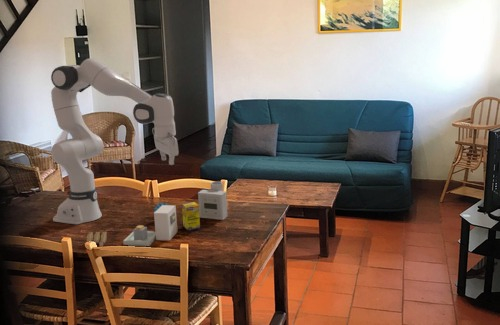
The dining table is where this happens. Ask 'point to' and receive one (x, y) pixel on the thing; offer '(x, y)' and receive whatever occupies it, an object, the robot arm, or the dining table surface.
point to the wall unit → (165, 222)
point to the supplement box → (191, 216)
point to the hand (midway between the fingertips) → (167, 162)
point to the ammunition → (97, 237)
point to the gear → (158, 206)
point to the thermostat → (213, 202)
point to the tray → (147, 242)
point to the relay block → (140, 233)
